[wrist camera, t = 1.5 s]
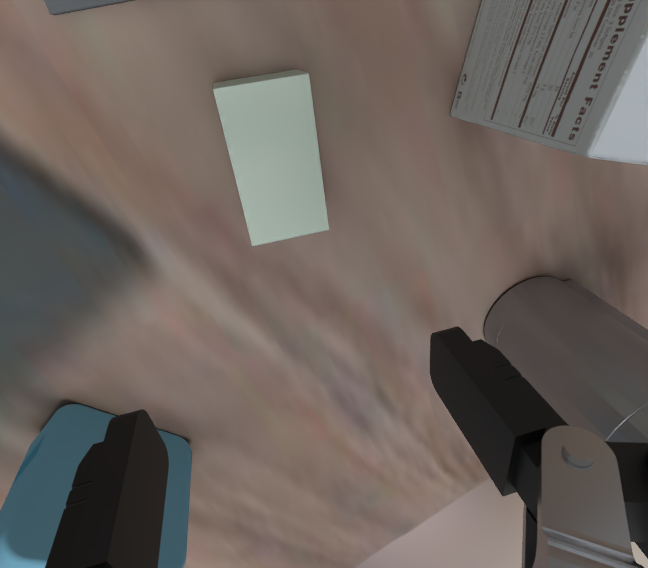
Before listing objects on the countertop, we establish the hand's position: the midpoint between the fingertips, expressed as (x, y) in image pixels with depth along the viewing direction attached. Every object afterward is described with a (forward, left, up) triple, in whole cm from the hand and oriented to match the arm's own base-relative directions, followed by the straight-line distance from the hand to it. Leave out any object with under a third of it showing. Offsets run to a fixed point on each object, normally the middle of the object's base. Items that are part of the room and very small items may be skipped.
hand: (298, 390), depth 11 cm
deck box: (-2, -2, -19) cm, 19 cm away
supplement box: (-19, -4, -19) cm, 27 cm away
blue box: (+17, +19, -19) cm, 32 cm away
